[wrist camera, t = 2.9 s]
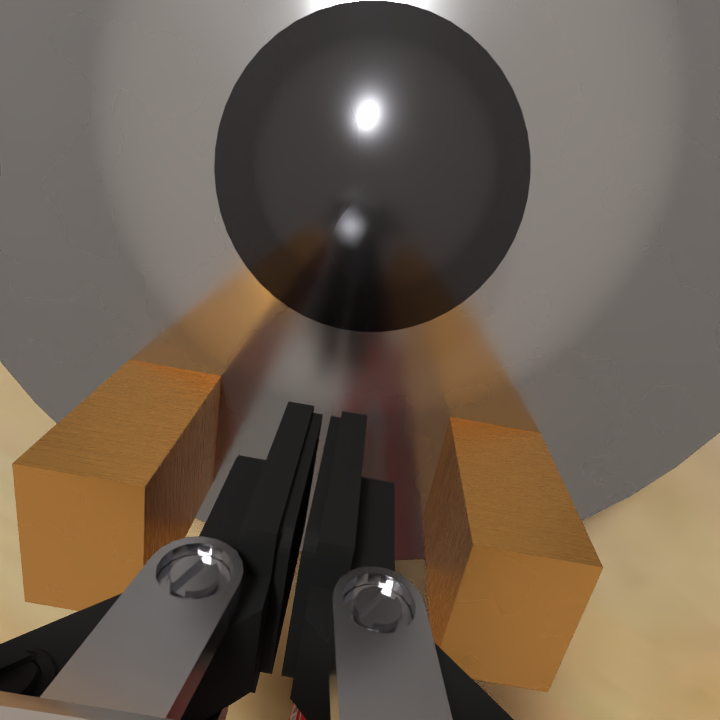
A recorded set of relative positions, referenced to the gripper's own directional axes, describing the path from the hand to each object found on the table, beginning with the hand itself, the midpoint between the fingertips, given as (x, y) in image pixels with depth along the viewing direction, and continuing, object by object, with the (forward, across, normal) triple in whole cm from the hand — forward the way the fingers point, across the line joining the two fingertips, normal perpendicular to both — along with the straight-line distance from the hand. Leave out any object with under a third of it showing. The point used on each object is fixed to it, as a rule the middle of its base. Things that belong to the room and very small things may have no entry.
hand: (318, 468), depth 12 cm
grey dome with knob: (+3, 0, -6) cm, 7 cm away
